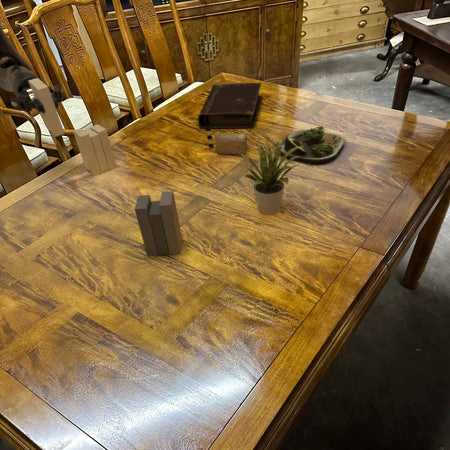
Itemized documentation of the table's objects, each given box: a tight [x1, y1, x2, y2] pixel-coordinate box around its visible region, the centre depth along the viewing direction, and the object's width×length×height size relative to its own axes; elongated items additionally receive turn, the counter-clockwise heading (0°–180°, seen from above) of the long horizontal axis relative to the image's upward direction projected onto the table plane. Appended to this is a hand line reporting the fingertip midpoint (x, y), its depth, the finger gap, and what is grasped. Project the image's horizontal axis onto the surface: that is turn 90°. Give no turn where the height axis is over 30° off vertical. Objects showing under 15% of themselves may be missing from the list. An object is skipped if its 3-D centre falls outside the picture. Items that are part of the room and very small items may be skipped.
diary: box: [197, 82, 262, 129], centre depth 139 cm, size 19×25×5 cm
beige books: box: [72, 124, 118, 177], centre depth 116 cm, size 5×7×12 cm
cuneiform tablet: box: [204, 126, 248, 155], centre depth 119 cm, size 7×4×12 cm
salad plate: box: [272, 125, 345, 165], centre depth 118 cm, size 19×18×5 cm
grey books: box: [134, 190, 183, 257], centre depth 88 cm, size 5×7×12 cm
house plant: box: [237, 137, 303, 216], centre depth 94 cm, size 14×14×16 cm
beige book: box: [28, 78, 65, 137], centre depth 101 cm, size 8×2×11 cm, turn 34°
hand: (49, 106), depth 99 cm, fingers closed on beige book, 2 cm apart
